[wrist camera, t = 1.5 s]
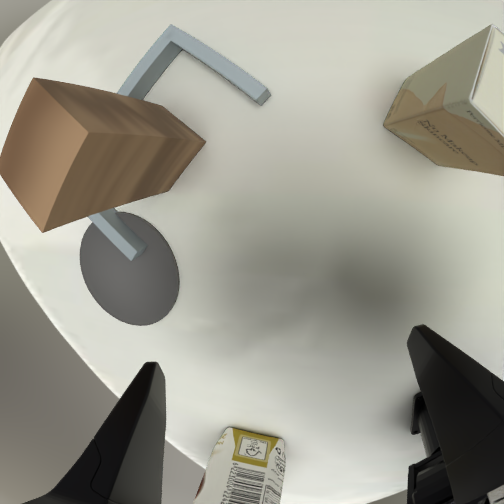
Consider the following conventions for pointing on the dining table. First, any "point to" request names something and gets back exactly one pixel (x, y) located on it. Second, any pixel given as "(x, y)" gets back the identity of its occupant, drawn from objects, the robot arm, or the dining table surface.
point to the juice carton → (243, 470)
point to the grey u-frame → (139, 87)
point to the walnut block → (90, 151)
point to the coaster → (130, 274)
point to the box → (457, 106)
